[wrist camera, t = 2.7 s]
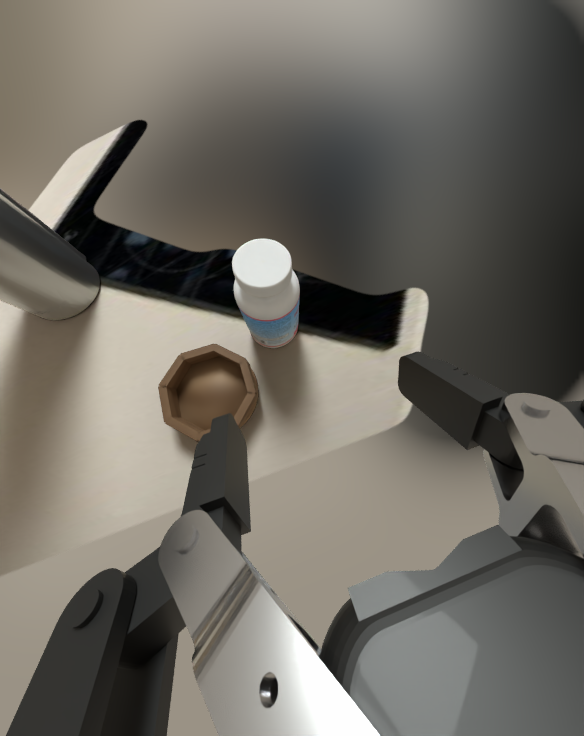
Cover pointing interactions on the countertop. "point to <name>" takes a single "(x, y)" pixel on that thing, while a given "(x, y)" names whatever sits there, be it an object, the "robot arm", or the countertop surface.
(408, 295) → the countertop surface
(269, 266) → the pill bottle
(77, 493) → the countertop surface
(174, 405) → the bowl
